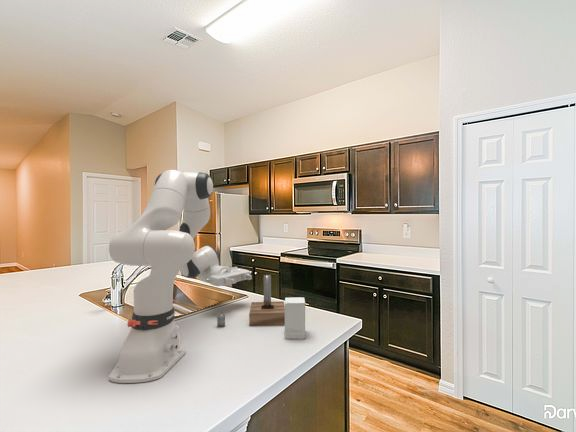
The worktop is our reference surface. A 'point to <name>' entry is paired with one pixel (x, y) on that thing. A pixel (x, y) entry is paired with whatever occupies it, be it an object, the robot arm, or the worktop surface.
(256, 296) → the worktop surface
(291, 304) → the supplement box
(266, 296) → the long pin
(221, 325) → the short pin
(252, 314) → the collar block
